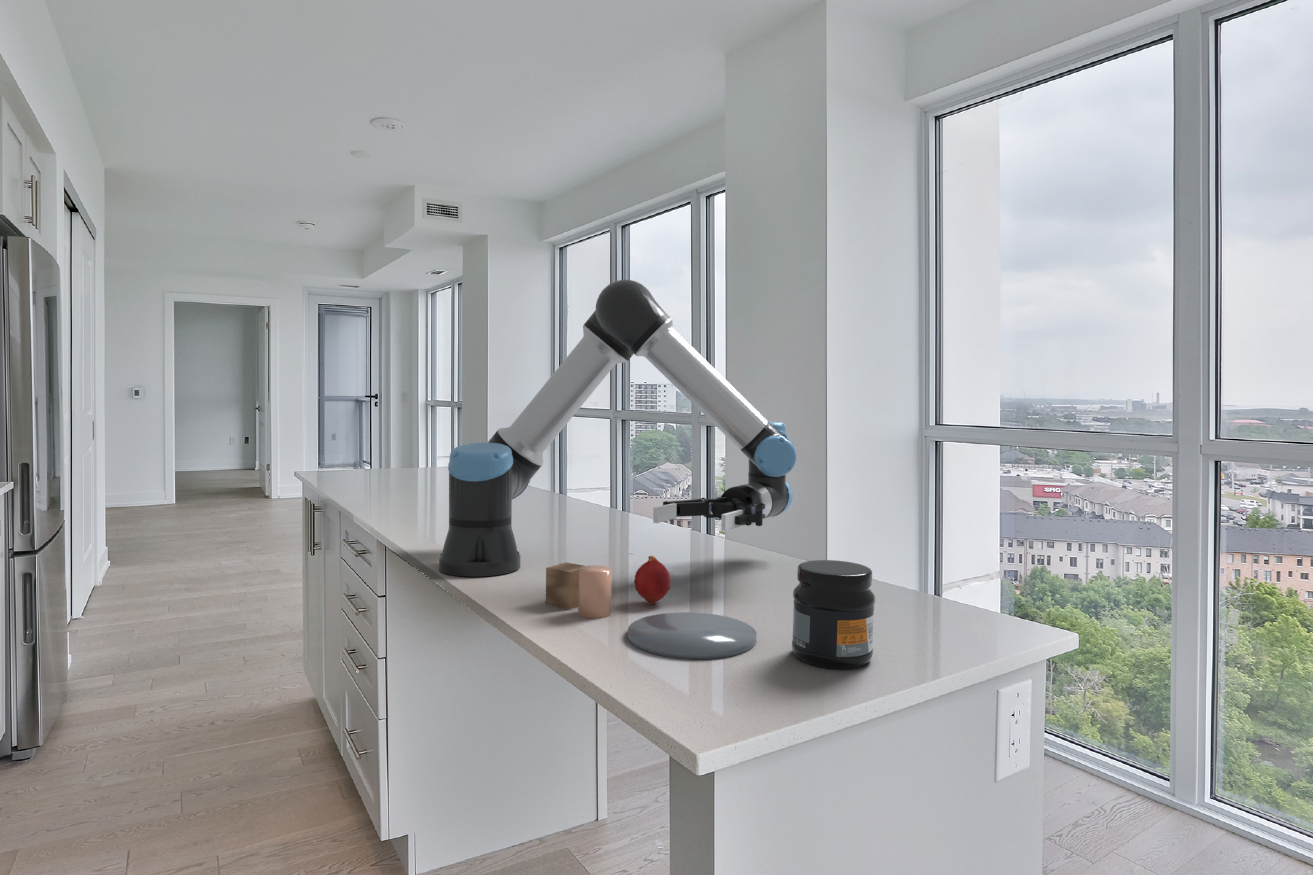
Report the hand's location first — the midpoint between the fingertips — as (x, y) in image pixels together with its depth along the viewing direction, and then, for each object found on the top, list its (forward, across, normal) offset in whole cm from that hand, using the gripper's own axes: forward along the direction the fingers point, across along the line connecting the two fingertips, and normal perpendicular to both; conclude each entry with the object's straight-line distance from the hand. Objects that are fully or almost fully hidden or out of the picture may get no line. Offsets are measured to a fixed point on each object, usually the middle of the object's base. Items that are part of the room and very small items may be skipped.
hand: (688, 519), depth 135 cm
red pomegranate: (+10, +1, -13) cm, 16 cm away
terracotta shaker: (+20, +5, -12) cm, 24 cm away
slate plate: (+21, -13, -13) cm, 28 cm away
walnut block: (+18, +12, -12) cm, 25 cm away
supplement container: (+17, -32, -13) cm, 39 cm away
